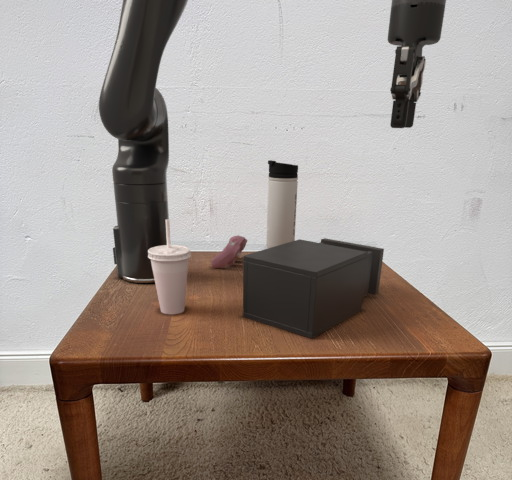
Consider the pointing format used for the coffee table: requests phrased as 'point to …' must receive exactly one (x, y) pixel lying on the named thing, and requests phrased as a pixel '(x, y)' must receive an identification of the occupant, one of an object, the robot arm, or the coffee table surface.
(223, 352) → the coffee table surface
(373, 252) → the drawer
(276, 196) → the travel mug
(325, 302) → the dark grey lidded box
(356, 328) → the coffee table surface
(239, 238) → the pink rounded figure
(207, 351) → the coffee table surface
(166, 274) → the smoothie
